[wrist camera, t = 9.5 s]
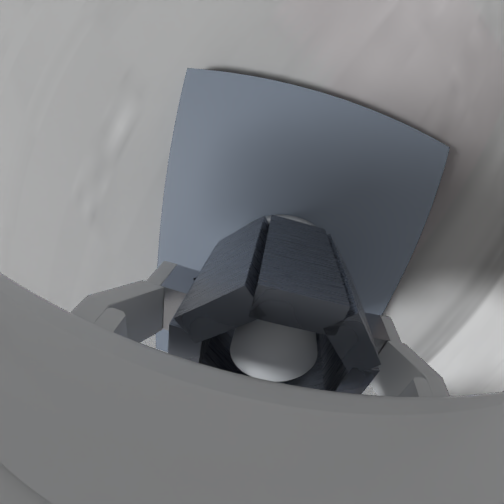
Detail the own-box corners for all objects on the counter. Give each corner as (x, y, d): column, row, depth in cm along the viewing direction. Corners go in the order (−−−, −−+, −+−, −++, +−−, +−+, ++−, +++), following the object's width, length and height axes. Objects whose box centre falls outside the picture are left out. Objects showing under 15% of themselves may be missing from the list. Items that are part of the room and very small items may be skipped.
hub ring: (224, 202, 10) (173, 261, 6) (367, 241, 10) (414, 320, 6) (203, 318, 13) (167, 401, 8) (318, 346, 13) (324, 434, 8)
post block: (194, 72, 10) (114, 32, 4) (439, 145, 10) (533, 168, 4) (161, 338, 17) (120, 413, 11) (331, 379, 17) (336, 461, 11)
